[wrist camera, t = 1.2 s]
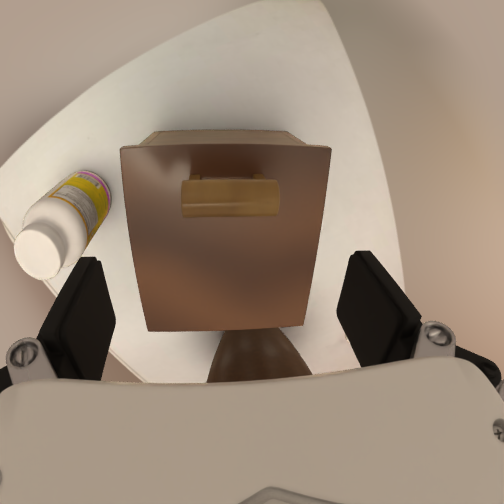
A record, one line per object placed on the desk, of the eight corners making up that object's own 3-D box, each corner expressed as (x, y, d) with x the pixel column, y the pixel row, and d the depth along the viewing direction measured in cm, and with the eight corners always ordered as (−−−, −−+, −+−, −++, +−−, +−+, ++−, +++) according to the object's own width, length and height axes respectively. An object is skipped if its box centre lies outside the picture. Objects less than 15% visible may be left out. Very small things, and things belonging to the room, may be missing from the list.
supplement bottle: (72, 229, 32) (26, 295, 21) (54, 178, 29) (-8, 229, 18) (120, 216, 33) (83, 283, 22) (103, 161, 29) (49, 207, 18)
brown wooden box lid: (122, 146, 18) (95, 167, 13) (327, 145, 20) (362, 166, 15) (149, 325, 26) (141, 372, 21) (301, 319, 27) (316, 364, 23)
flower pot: (207, 369, 47) (212, 458, 33) (187, 299, 39) (183, 405, 26) (298, 356, 48) (324, 441, 34) (300, 284, 40) (339, 381, 27)
